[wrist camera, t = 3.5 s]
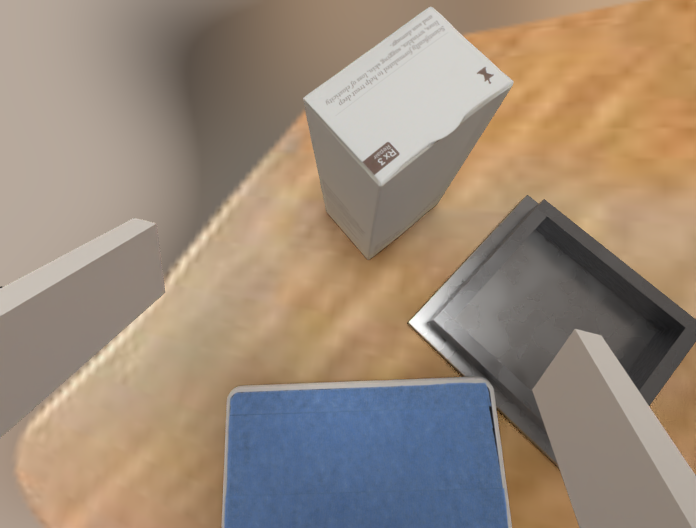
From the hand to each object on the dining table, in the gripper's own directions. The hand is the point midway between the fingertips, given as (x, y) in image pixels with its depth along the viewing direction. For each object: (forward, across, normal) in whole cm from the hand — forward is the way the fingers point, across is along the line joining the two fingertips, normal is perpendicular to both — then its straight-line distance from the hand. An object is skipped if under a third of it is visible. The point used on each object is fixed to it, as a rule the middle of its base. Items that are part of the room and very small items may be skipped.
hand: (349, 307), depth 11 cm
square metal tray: (+15, +15, -9) cm, 23 cm away
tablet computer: (+5, +3, -18) cm, 19 cm away
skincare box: (+20, 0, -4) cm, 20 cm away
